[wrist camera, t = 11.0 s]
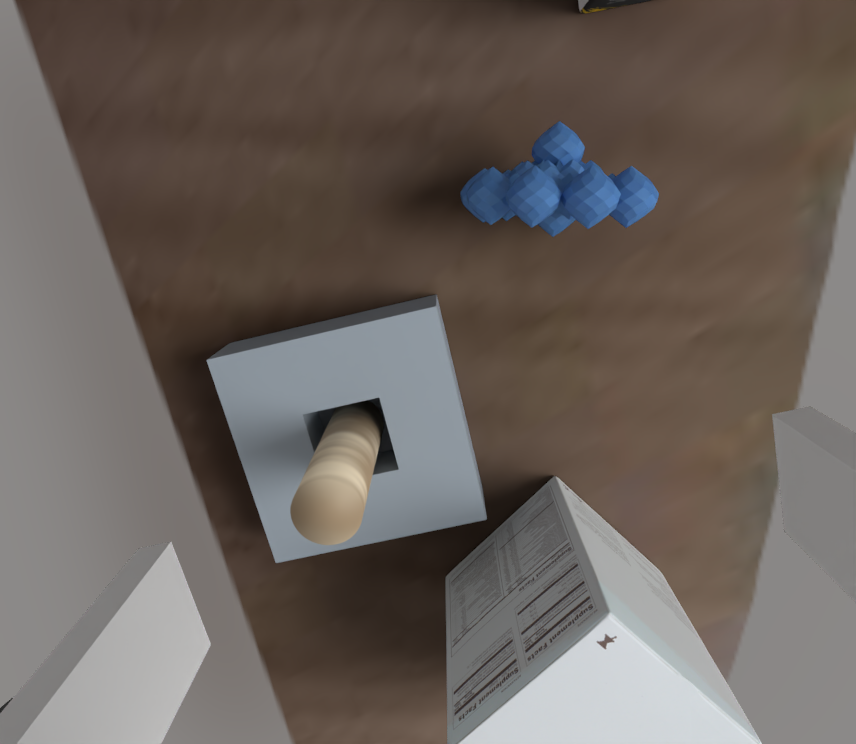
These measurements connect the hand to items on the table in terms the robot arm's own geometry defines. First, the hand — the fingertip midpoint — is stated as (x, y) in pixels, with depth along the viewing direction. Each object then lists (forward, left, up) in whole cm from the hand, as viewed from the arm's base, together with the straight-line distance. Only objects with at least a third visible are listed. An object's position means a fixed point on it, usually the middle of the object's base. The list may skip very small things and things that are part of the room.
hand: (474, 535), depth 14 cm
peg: (+8, -9, -34) cm, 36 cm away
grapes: (-6, +8, -35) cm, 36 cm away
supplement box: (+25, +3, -35) cm, 43 cm away
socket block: (+8, -9, -35) cm, 37 cm away
